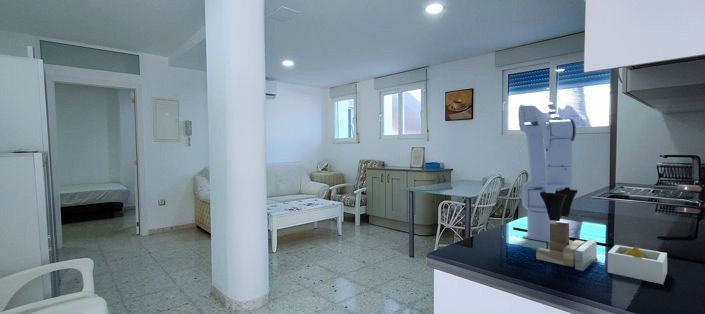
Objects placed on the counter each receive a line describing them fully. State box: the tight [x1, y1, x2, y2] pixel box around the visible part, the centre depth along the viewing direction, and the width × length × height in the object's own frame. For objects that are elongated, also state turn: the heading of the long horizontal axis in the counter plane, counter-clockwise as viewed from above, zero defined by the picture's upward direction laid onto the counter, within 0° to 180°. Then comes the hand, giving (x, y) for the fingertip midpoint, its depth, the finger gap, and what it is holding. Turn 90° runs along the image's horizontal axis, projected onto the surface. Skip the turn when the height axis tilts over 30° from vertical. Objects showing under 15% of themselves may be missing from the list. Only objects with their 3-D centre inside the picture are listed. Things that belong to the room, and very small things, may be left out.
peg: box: [550, 221, 570, 252], centre depth 82 cm, size 4×4×9 cm
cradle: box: [535, 239, 586, 268], centre depth 82 cm, size 11×8×4 cm
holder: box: [607, 244, 668, 285], centre depth 71 cm, size 9×9×4 cm
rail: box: [574, 239, 598, 272], centre depth 77 cm, size 13×2×4 cm, turn 131°
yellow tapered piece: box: [620, 246, 649, 259], centre depth 71 cm, size 5×5×10 cm
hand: (559, 218), depth 82 cm, fingers open, 7 cm apart
